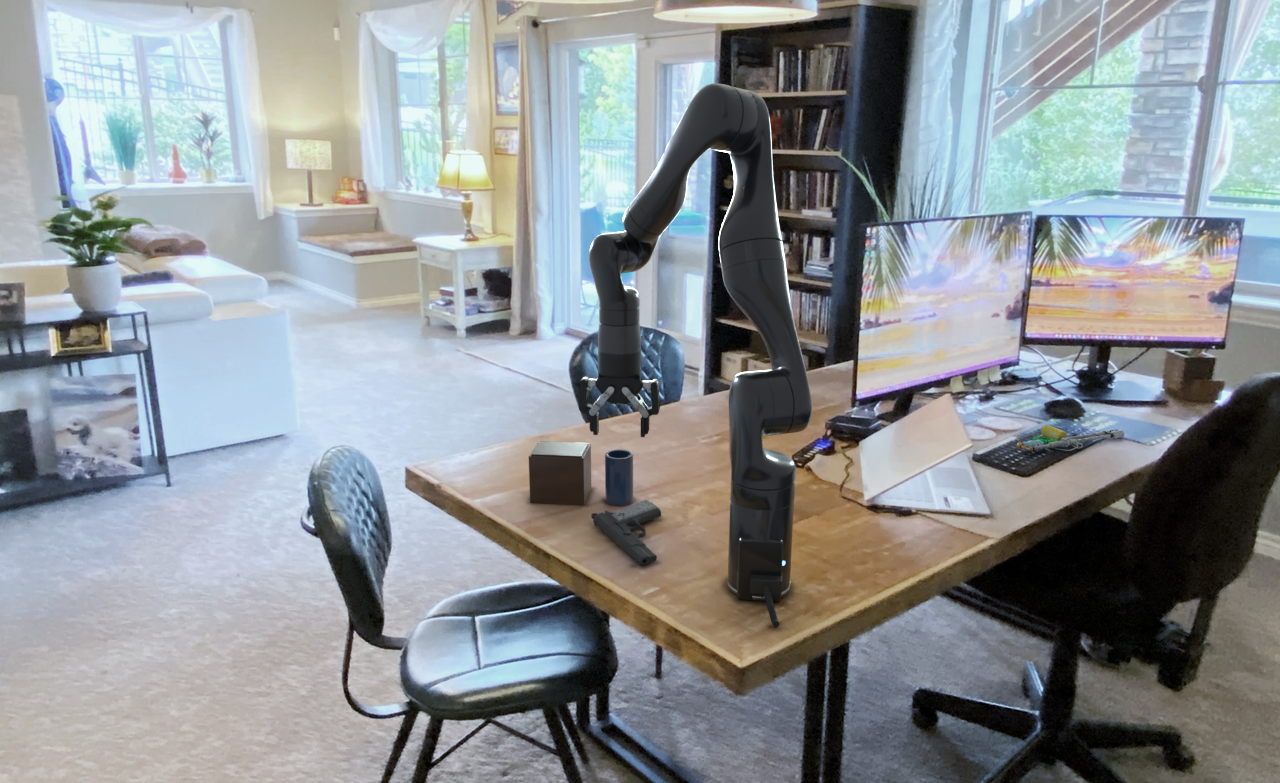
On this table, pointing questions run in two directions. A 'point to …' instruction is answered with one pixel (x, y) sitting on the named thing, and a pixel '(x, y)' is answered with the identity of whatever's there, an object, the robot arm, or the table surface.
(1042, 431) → the flamethrower
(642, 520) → the handgun
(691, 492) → the table surface
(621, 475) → the pen cup
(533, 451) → the dark brown box
